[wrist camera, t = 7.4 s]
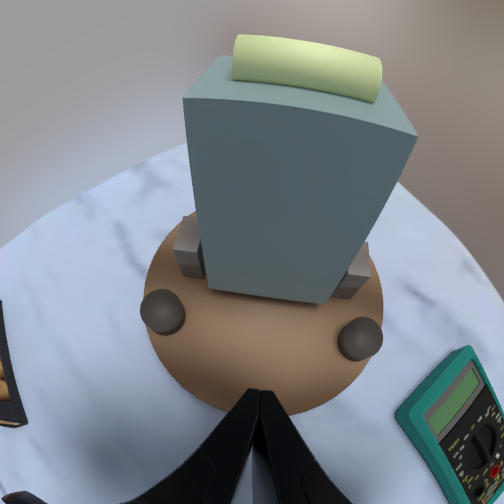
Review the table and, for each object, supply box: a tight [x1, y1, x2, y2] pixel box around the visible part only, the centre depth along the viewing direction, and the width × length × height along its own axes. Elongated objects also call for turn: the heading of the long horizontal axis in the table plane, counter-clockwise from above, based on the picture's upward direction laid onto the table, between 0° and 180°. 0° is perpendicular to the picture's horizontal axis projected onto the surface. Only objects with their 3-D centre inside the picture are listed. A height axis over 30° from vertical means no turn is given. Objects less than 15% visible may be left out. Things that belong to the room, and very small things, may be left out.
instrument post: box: [183, 34, 418, 304], centre depth 11 cm, size 4×6×11 cm, turn 82°
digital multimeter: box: [395, 345, 504, 504], centre depth 11 cm, size 7×15×3 cm, turn 30°
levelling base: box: [140, 211, 383, 416], centre depth 15 cm, size 14×14×6 cm
